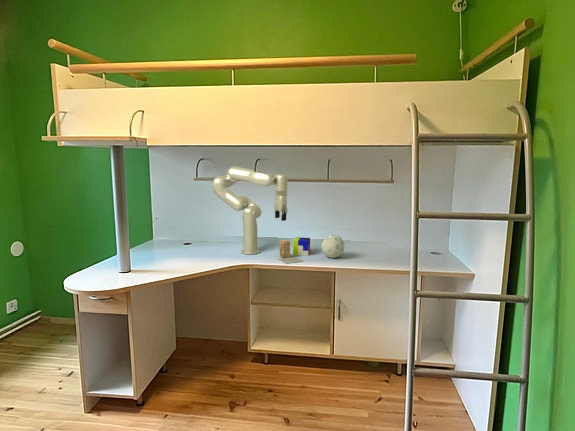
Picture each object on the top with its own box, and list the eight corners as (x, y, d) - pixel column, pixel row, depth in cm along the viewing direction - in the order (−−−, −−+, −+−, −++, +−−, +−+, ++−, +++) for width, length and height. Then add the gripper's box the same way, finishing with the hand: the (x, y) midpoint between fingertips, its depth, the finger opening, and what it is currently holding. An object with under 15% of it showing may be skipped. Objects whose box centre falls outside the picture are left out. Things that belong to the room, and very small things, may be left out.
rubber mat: (278, 259, 252) (278, 259, 252) (295, 257, 258) (295, 256, 258) (286, 263, 242) (286, 263, 242) (303, 261, 248) (303, 261, 248)
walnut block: (279, 256, 258) (279, 240, 257) (286, 256, 261) (286, 239, 259) (283, 258, 254) (283, 242, 252) (290, 257, 256) (290, 241, 255)
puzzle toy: (307, 255, 262) (307, 241, 261) (293, 254, 264) (293, 240, 262) (309, 252, 272) (310, 237, 270) (295, 251, 274) (295, 237, 272)
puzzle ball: (338, 253, 268) (339, 232, 265) (348, 259, 253) (348, 236, 251) (317, 255, 263) (318, 233, 261) (326, 261, 249) (326, 238, 247)
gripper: (270, 192, 263) (269, 217, 266) (282, 195, 248) (281, 221, 251) (280, 191, 266) (279, 216, 269) (292, 195, 251) (291, 221, 254)
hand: (280, 219), depth 260 cm, fingers open, 9 cm apart
